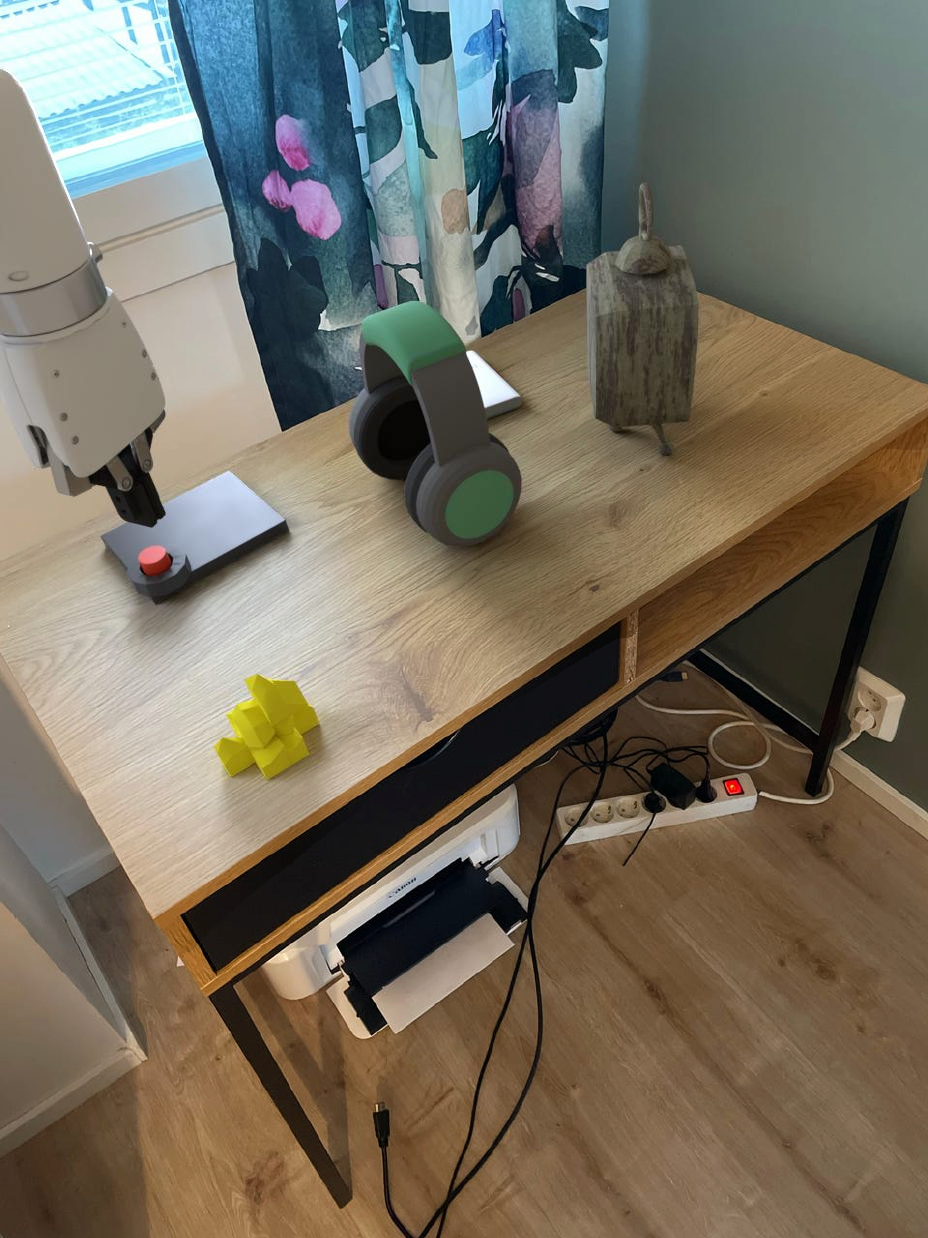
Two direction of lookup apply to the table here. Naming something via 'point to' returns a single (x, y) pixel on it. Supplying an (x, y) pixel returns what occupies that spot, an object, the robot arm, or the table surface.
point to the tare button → (154, 560)
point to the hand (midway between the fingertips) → (144, 517)
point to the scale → (197, 535)
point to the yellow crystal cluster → (267, 728)
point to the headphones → (431, 426)
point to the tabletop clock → (642, 331)
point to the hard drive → (493, 388)
